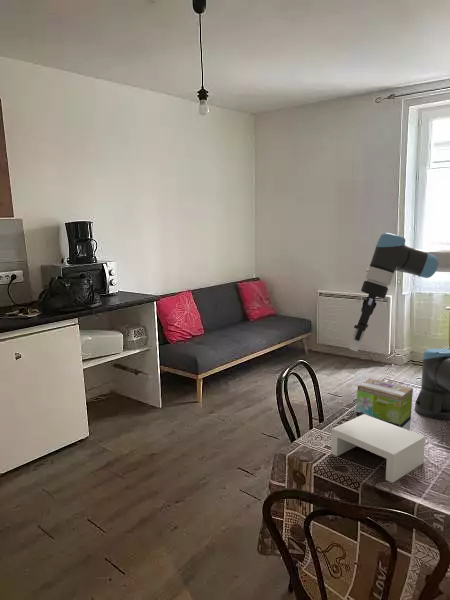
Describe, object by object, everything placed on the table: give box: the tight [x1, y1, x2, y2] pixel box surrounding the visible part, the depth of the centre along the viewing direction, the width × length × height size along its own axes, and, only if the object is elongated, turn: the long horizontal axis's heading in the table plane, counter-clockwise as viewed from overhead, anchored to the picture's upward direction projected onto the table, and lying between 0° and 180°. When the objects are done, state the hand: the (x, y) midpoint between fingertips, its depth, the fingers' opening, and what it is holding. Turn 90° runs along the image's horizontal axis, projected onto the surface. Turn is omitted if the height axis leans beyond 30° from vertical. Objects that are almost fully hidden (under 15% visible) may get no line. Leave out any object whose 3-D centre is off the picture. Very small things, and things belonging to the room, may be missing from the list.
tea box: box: [355, 377, 414, 431], centre depth 149 cm, size 15×10×15 cm
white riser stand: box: [330, 414, 426, 484], centre depth 130 cm, size 16×20×8 cm
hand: (354, 347), depth 142 cm, fingers open, 13 cm apart
